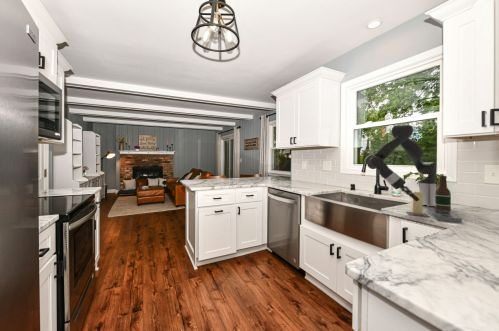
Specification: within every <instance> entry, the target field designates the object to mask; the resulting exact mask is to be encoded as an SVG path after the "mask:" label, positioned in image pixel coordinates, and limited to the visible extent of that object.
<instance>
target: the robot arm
mask: <svg viewBox="0 0 499 331" xmlns="http://www.w3.org/2000/svg"><path fill="white" fill-rule="evenodd" d="M413 132H414V128H413V126H412V125H411V124H396V125H394V126H392V128H391V135H392V136H393V139H392V140H389V141H388V142H386V143H384V144H383V145H382V146H381V147H380V148H379V149H378V150H377V152H375V154H374V155H373V156H372V157H370V159H369V160H368V161H367V167H368V168H369V169H371V170H376V169H377V170H378V174H379V175H380V176H381V178H383V179H384V180H385V182H387V183H388V184H389V185H390V186H391V187H392V188H393V189H395V190H398V189H400V191H401V192H403V194H405V195H407V196H409V197H410V198H411V199H412V198H413V199H414V200H415V201H418V200H419V198H418V197H416V196H415V195H414V193H413V191H412V190H411V189H410V188H409V187H408V186H407V185H406V186H405V184H406V181H405V180H404V179H403V178H402V177H401V176H400V175H398V173H396V172H395V171H393V169H391V168H390V167H389V166H388V165H387V163H386V162H385V160H386V159H387V158H388V157H389V156H390V155H391V154H392V152H393V151H395V149H397V148H398V147H399V146H401V147H402V148H403V150H404V152H405V153H406V154H407V156H408V157H409V158H410V160H411V161H412V162H413V165H414V166H415V169H416V171H417V173H419V174H420V175H427V176H426V177H425V178H420V180H419V192H420V193H422V194H423V201H422V205H428V206H427V207H429V206H435V194H436V190H437V189H436V187H437V186H436V184H437V183H436V181H437V173H438V172H437V171H438V166H437V164H436V163H435V162H433V161H432V162H427V161H426V162H424V161H422V158H423V156H424V150H423V148H422V146H421V145H420V144H419V143H418V142H416V141H415V140H413V139H411V138H410V137H412V135H413Z"/></svg>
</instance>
